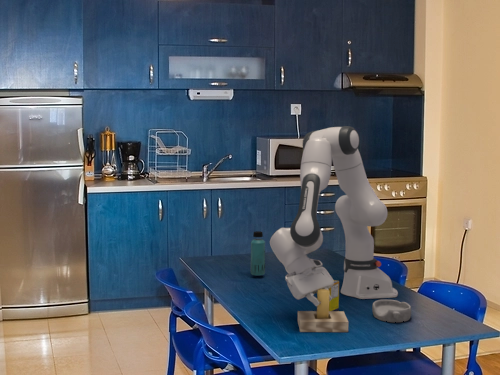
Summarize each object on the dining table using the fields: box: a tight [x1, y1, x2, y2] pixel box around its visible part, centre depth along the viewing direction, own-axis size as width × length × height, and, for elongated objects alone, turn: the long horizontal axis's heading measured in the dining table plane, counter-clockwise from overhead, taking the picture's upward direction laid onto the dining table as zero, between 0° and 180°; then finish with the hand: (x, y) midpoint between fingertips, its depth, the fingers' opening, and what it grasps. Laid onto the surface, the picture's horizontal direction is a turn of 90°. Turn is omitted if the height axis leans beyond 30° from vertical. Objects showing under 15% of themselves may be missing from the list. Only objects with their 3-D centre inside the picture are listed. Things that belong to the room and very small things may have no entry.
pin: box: [316, 289, 330, 319], centre depth 244 cm, size 4×4×12 cm
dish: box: [371, 299, 412, 323], centre depth 256 cm, size 14×14×5 cm
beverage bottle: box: [250, 230, 266, 276], centre depth 311 cm, size 6×7×20 cm
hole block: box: [297, 310, 349, 333], centre depth 245 cm, size 16×12×4 cm
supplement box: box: [316, 279, 340, 311], centre depth 263 cm, size 6×6×11 cm
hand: (324, 302), depth 243 cm, fingers open, 5 cm apart
